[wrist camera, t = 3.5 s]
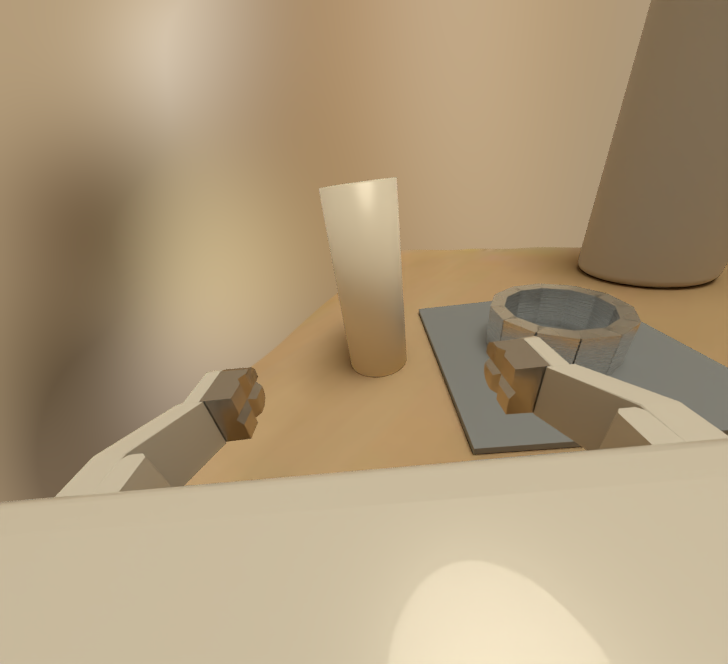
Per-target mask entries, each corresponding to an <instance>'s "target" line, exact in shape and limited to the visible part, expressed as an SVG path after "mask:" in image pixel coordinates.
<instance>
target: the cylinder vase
mask: <svg viewBox="0 0 728 664" xmlns="http://www.w3.org/2000/svg"><path fill="white" fill-rule="evenodd" d="M727 263H728V0H651V3H650V7H649V10H648V14H647V17H646V21H645V25H644V28H643V32H642V35H641V39H640V42H639V46H638V49H637V53H636V56H635V60H634V63H633V67H632V71H631V74H630V78H629V81H628V85H627V89H626V92H625V96H624V99H623V103H622V106H621V110H620V113H619V117H618V121H617V124H616V127H615V131H614V134H613V138H612V142H611V145H610V149H609V153H608V156H607V159H606V163H605V167H604V170H603V174H602V177H601V181H600V185H599V188H598V191H597V195H596V198H595V202H594V205H593V209H592V213H591V216H590V220H589V223H588V227H587V230H586V234H585V238H584V241H583V244H582V248H581V252H580V255H579V259H578V265H579V267H580V268H581V269H582V270H583V271H584V272H585V273H587V274H589V275H591V276H594V277H596V278H599V279H603V280H606V281H610V282H615V283H620V284H626V285H634V286H643V287H662V288H670V287H687V286H695V285H700V284H704V283H707V282H710V281H712V280H714V279H716V278H717V277H718V276H719V275H720V274H721V273H722V272H723V270H724V268H725V266H726V265H727Z"/></svg>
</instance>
